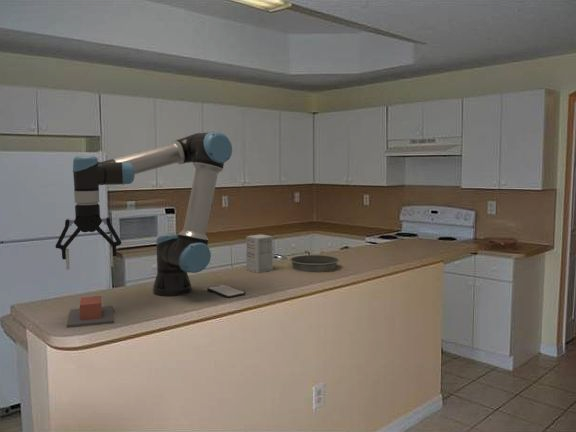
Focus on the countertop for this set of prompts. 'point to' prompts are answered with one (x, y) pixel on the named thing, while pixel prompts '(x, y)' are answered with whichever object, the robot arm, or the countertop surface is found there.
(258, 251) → the supplement box
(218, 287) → the phone case
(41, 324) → the countertop surface
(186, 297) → the countertop surface
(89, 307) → the card deck box
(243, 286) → the countertop surface
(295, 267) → the cake pan
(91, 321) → the rubber mat
